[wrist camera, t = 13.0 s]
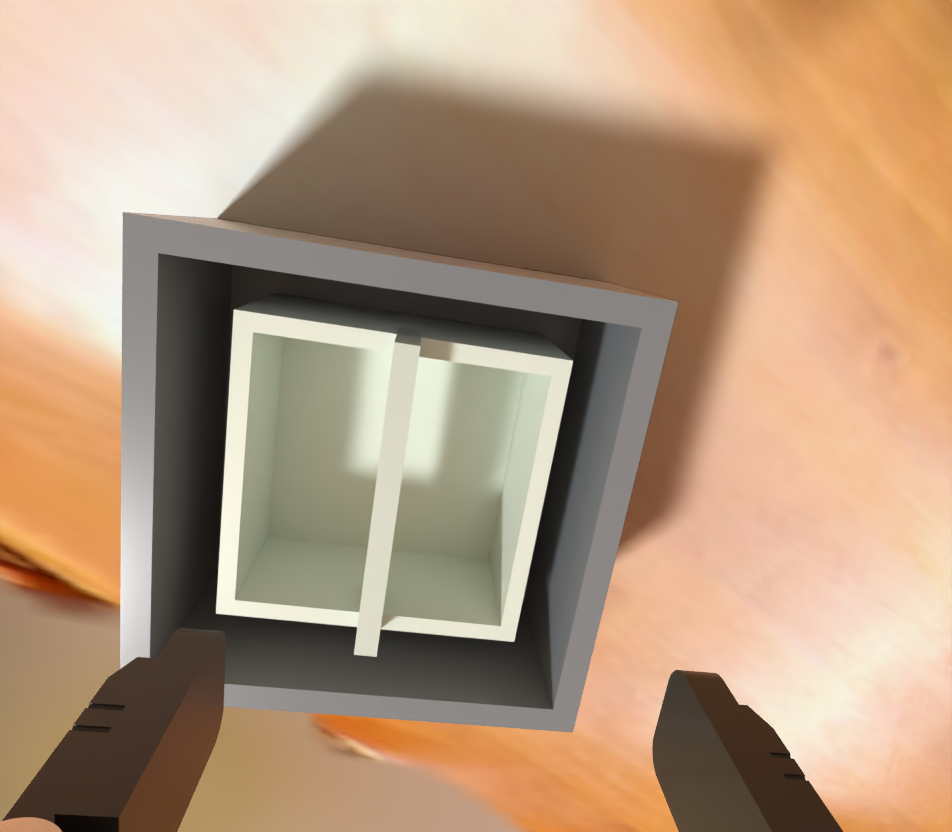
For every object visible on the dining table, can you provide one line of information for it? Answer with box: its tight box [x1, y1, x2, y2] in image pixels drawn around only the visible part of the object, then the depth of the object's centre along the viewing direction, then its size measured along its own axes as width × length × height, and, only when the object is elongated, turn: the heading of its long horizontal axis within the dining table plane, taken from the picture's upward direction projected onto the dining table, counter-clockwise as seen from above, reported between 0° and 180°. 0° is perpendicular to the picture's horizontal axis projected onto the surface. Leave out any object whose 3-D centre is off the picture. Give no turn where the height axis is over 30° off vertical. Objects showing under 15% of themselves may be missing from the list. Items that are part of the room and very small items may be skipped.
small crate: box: [216, 293, 573, 657], centre depth 30 cm, size 14×14×9 cm
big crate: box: [120, 212, 678, 732], centre depth 30 cm, size 20×20×10 cm
